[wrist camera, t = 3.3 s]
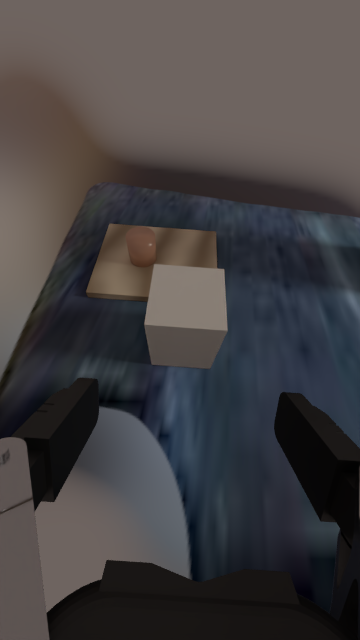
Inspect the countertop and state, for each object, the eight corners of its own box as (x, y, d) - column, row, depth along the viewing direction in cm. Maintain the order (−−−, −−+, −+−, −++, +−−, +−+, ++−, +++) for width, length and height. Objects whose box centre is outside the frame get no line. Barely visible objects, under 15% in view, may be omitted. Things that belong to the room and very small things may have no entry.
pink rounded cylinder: (158, 249, 32) (156, 227, 29) (155, 268, 30) (153, 247, 27) (132, 247, 32) (128, 225, 29) (127, 266, 30) (123, 245, 27)
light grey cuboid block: (209, 319, 27) (224, 269, 20) (209, 368, 24) (227, 330, 17) (158, 315, 27) (154, 264, 20) (151, 364, 24) (144, 324, 17)
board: (214, 237, 35) (215, 231, 34) (216, 306, 28) (218, 302, 28) (111, 229, 35) (109, 223, 34) (88, 297, 28) (85, 292, 28)
